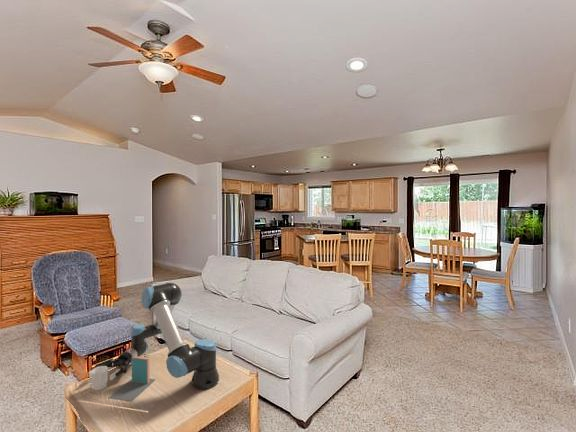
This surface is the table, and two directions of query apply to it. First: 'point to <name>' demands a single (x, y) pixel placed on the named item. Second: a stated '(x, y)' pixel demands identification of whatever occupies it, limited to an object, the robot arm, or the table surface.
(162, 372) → the table surface
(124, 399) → the mat
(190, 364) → the robot arm
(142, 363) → the tile
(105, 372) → the white cup
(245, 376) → the table surface
